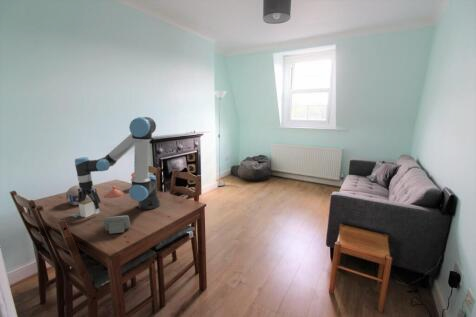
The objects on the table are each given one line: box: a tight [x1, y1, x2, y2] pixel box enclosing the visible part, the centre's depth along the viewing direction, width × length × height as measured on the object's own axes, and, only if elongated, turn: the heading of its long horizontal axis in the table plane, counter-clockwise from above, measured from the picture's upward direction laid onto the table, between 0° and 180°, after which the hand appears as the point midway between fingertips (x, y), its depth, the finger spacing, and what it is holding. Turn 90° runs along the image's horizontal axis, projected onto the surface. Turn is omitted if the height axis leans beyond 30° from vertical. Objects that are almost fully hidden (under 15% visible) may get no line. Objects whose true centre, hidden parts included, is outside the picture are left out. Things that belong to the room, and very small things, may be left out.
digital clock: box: [102, 215, 131, 234], centre depth 136 cm, size 14×8×9 cm, turn 93°
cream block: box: [78, 198, 95, 218], centre depth 157 cm, size 5×8×10 cm, turn 160°
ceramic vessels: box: [103, 172, 134, 199], centre depth 196 cm, size 35×21×19 cm, turn 136°
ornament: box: [65, 184, 91, 206], centre depth 174 cm, size 15×15×15 cm
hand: (91, 212), depth 157 cm, fingers open, 10 cm apart
